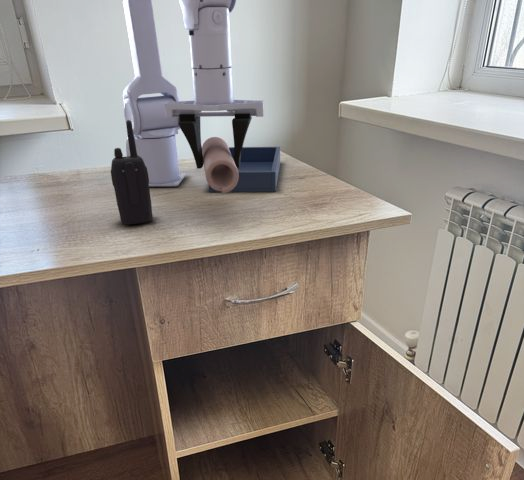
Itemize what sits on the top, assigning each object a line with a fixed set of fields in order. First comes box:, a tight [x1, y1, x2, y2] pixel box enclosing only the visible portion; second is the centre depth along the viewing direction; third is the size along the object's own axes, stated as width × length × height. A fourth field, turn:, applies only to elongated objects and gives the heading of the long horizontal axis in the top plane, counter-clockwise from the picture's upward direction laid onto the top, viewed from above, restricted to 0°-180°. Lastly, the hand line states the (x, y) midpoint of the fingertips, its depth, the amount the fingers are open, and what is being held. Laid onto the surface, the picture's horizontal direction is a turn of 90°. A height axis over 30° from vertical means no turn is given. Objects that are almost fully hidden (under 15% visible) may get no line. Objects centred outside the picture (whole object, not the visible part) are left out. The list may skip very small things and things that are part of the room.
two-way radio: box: [110, 120, 154, 226], centre depth 76 cm, size 6×4×15 cm
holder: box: [208, 146, 281, 193], centre depth 102 cm, size 13×23×4 cm, turn 176°
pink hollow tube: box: [201, 136, 239, 194], centre depth 77 cm, size 5×5×18 cm
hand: (218, 167), depth 78 cm, fingers closed on pink hollow tube, 5 cm apart
